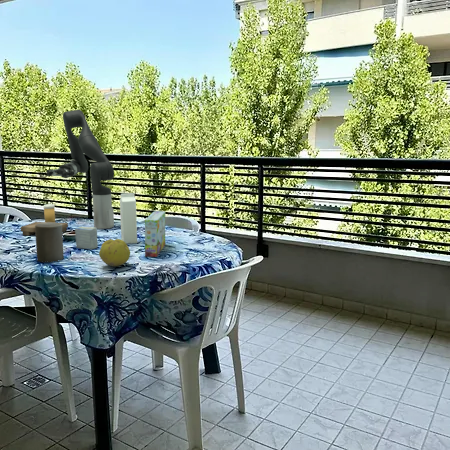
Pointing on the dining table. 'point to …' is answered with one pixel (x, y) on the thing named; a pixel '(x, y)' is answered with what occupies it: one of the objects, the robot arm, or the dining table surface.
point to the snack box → (154, 233)
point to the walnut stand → (30, 228)
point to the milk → (128, 218)
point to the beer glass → (49, 212)
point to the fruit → (114, 252)
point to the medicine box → (86, 237)
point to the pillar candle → (49, 241)
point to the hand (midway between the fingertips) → (55, 174)
